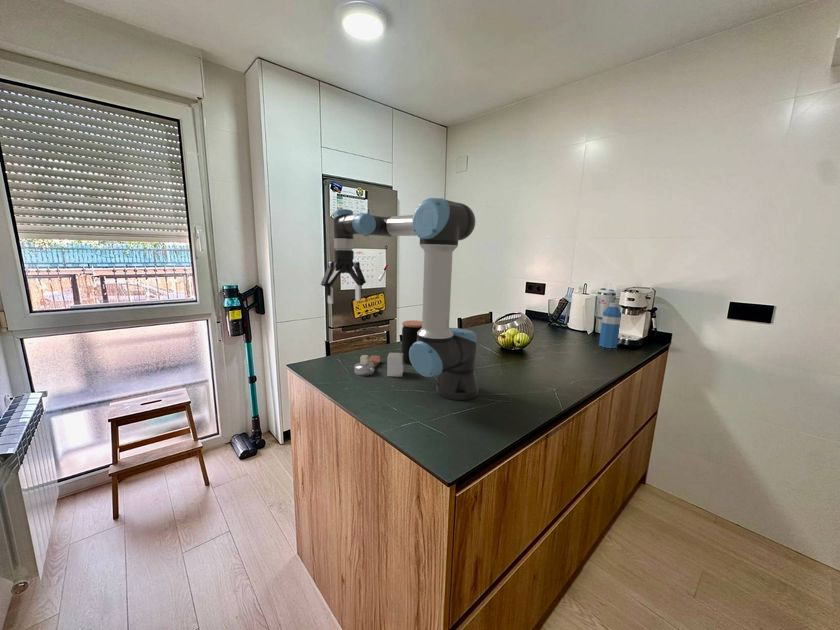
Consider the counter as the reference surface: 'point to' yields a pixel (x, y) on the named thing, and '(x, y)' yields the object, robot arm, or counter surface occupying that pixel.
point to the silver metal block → (395, 364)
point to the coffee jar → (409, 337)
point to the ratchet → (366, 365)
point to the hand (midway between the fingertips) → (344, 302)
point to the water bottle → (610, 326)
